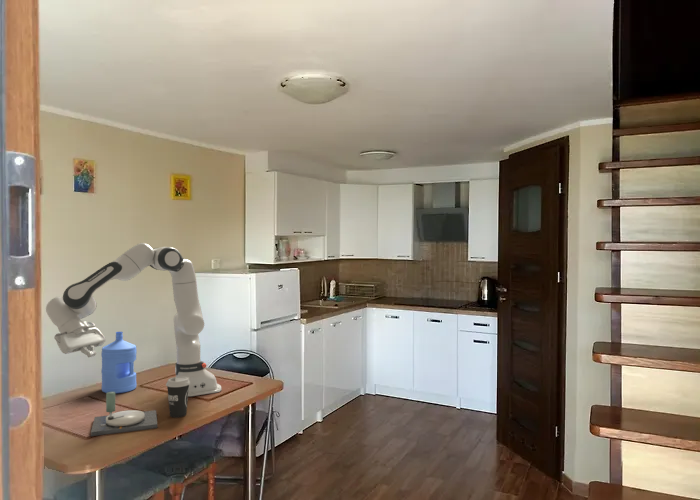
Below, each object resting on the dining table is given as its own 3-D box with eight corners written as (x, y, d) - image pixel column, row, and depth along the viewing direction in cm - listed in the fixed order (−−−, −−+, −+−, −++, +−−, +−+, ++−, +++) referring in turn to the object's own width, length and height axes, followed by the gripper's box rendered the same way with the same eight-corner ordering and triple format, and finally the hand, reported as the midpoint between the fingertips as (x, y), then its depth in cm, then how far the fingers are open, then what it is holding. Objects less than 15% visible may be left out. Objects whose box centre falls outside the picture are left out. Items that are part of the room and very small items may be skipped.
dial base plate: (156, 413, 215) (155, 409, 215) (157, 428, 198) (157, 423, 198) (94, 420, 206) (94, 416, 206) (90, 436, 189) (90, 431, 189)
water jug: (94, 393, 244) (94, 334, 243) (113, 384, 259) (113, 329, 259) (125, 394, 242) (125, 335, 242) (142, 385, 257) (142, 329, 257)
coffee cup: (171, 411, 218) (171, 375, 218) (193, 411, 218) (193, 376, 218) (162, 418, 209) (162, 381, 209) (185, 419, 208) (185, 382, 208)
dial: (137, 411, 212) (137, 383, 212) (150, 420, 202) (150, 390, 201) (100, 419, 202) (100, 389, 202) (112, 429, 192) (112, 397, 192)
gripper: (56, 329, 202) (76, 356, 199) (96, 322, 221) (115, 346, 218) (48, 340, 203) (67, 366, 200) (88, 331, 223) (106, 355, 220)
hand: (92, 355), depth 210 cm, fingers closed
